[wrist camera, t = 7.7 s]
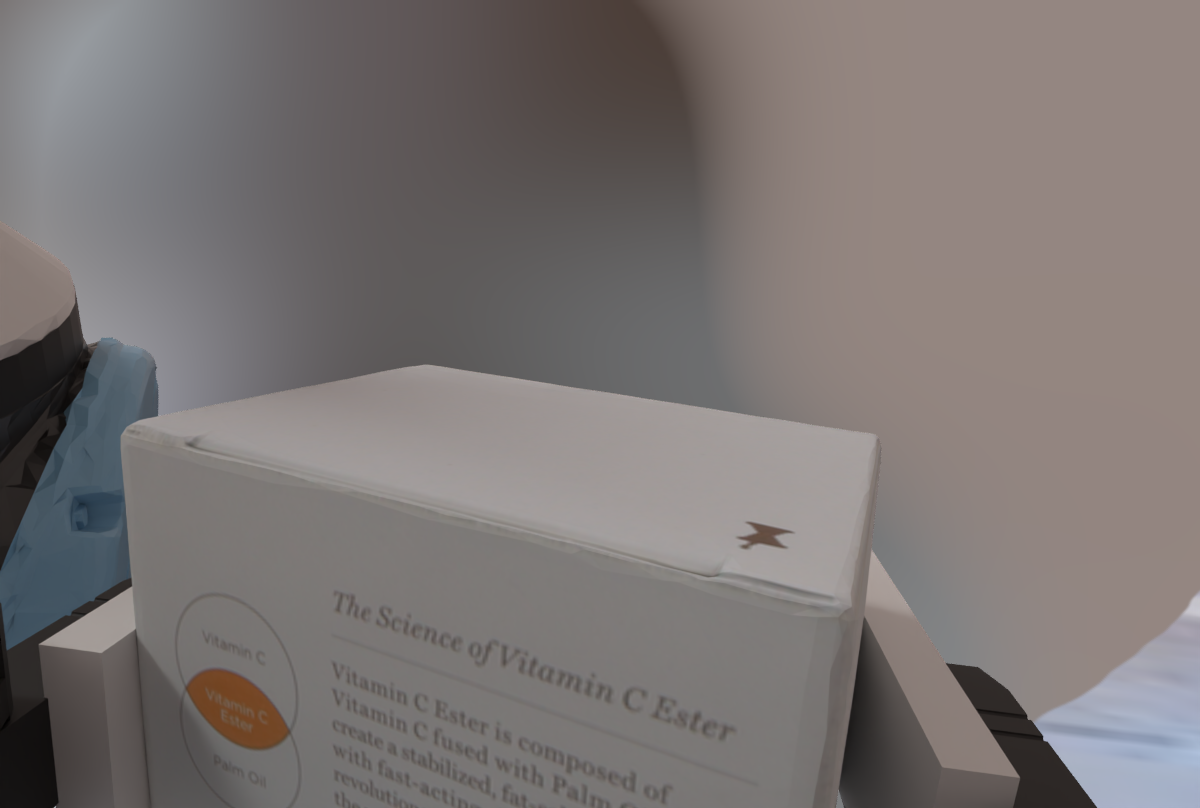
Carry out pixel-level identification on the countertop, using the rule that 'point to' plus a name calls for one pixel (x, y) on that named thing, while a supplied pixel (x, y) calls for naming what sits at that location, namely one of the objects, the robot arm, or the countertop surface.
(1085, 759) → the countertop surface
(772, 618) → the small box
